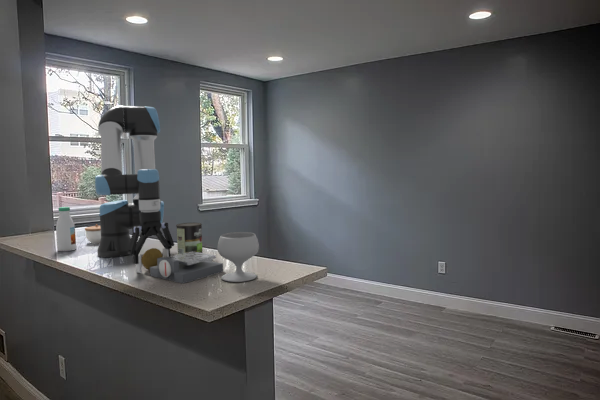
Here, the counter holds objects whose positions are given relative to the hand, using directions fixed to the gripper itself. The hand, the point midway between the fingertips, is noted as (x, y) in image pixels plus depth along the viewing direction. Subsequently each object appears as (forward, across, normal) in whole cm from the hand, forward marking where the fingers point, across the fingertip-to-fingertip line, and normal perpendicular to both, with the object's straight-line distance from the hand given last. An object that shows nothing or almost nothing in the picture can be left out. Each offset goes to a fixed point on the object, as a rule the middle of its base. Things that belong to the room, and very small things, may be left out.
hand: (152, 268), depth 161 cm
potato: (0, 0, 0) cm, 0 cm away
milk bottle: (0, 0, +66) cm, 66 cm away
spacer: (0, +17, -10) cm, 20 cm away
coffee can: (0, +21, +4) cm, 21 cm away
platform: (-5, +4, -16) cm, 17 cm away
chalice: (0, +9, -36) cm, 37 cm away
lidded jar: (0, +18, +72) cm, 74 cm away
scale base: (0, +3, -16) cm, 16 cm away
